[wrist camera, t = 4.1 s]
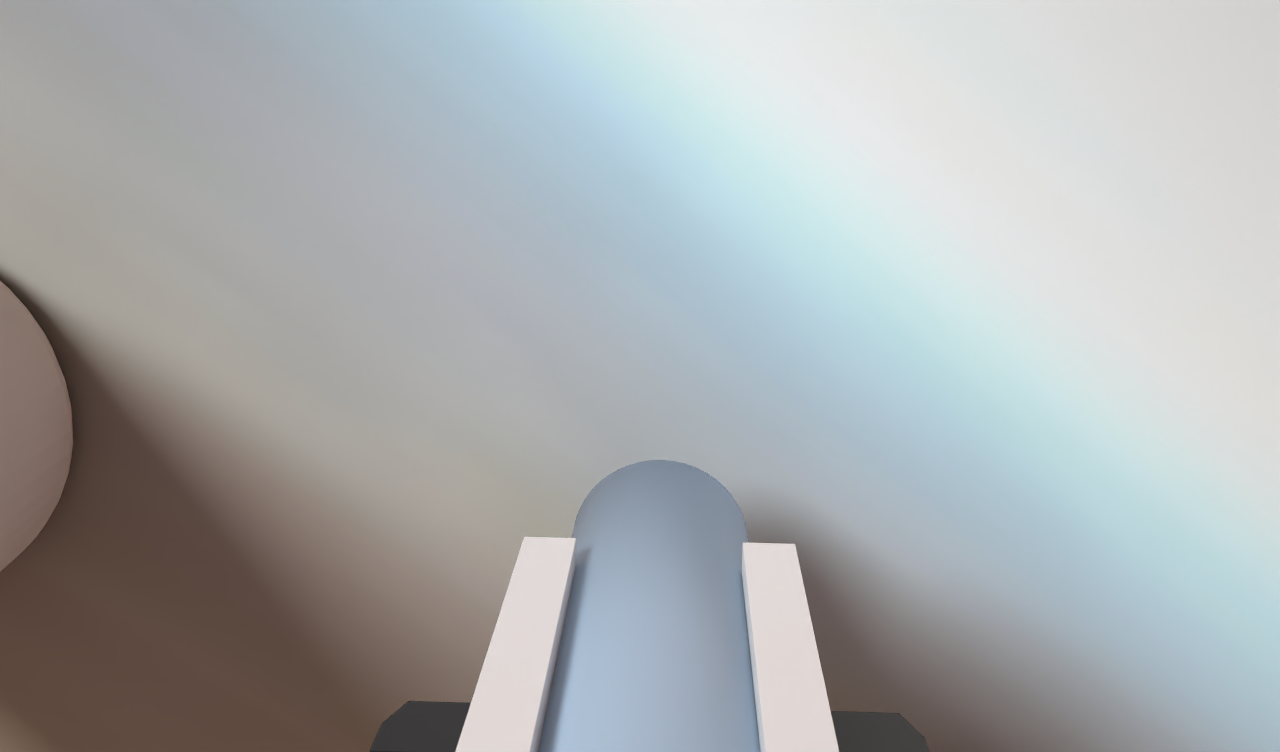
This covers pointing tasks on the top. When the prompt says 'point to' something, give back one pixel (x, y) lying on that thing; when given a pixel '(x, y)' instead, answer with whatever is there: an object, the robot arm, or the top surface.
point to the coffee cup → (29, 428)
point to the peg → (655, 620)
